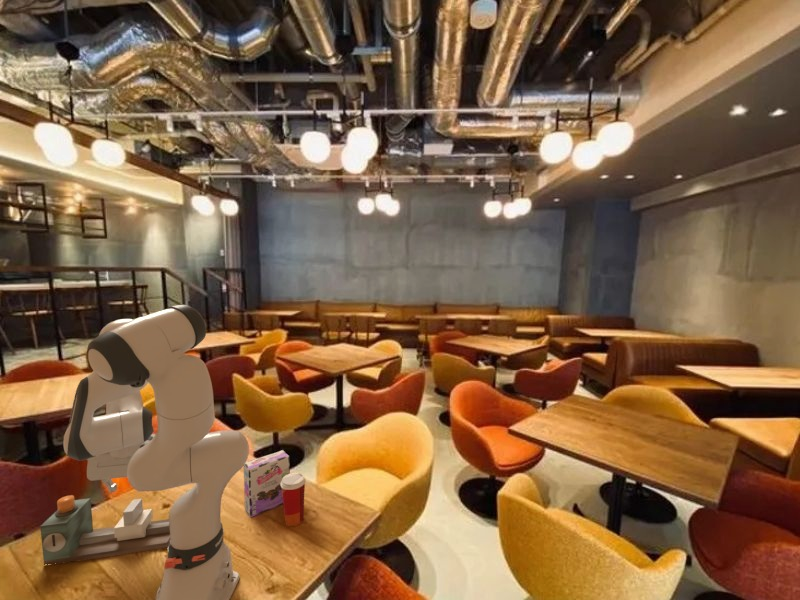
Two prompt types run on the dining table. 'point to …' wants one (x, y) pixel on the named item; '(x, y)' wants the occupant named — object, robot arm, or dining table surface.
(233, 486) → the dining table surface
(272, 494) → the candy box
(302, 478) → the paper cup
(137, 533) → the carriage
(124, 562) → the dining table surface
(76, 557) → the rail base
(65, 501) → the button
